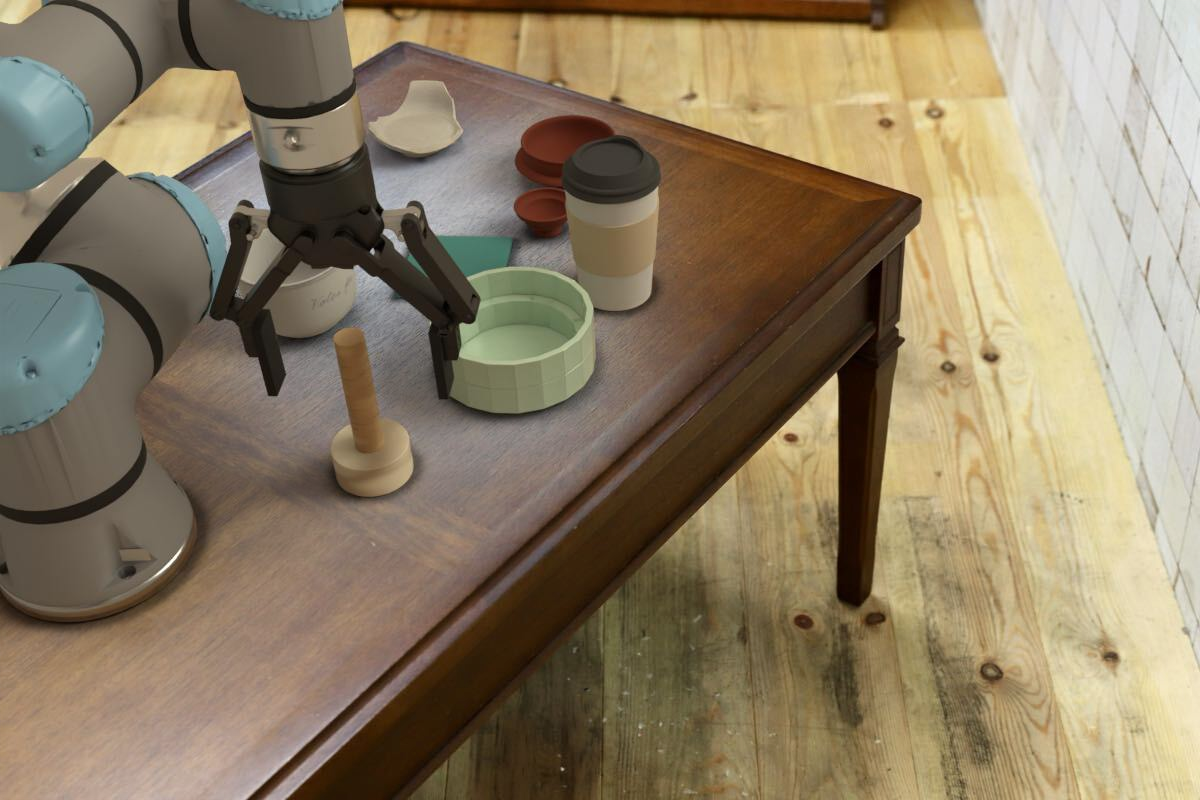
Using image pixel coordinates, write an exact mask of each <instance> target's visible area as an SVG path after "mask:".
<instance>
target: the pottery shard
mask: <svg viewBox="0 0 1200 800" xmlns="http://www.w3.org/2000/svg"><path fill="white" fill-rule="evenodd" d="M456 115H457V114H456V107H455V101H454V98H453V97H452V96H451V95H450V93H449V91H448V89H447V87H446V84H445V83H444V81H440V80H431V79H429V80H428V79H427V80H425V79H421V80H420V79H419V80H417V79H416V80H411V81H410V82H409V87H408V89H407V93H406V95H405V97H404V100H403V102H402V103H401V105H400V107H399V108H398V109H397V110H396V111H395V112H393V113H391V114H389V115H386V116H385V115H384V116H377V118H376V121H368V122H367V126H368V129H367V131H368V132H369V133H370V134H371V136H372V137H373V138H374V139H375V140H376V141H377V142H378V143H379V144H381V145H382V146H384V147H386V148H388V149H389V150H392V151H396V152H399V153H400V154H402V155H404V156H405V157H409V158H425V157H428V156H431V155H433V154H436V153H438V152H439V151H441V150H442V149H445V148H447V147H449V146H451V145H455V143H456V142H457V140H458V139H459V138H460V136H461V135H462V134H463V133H464V128H462V127H461V125H460V123H459V121H458V120H457V117H456Z"/></svg>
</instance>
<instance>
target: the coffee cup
mask: <svg viewBox="0 0 1200 800" xmlns="http://www.w3.org/2000/svg"><path fill="white" fill-rule="evenodd" d="M661 181H662V173H661V165H660V162H659V160H658V159H657V158H656V157H655V155H653V154H651V153H650V152H649V151H647V150H646V149H645V148H644V147H643V146H641V144H640V143H639V142H638V141H637V140H636V139H635V138H633V137H631V136H627V135H623V134H622V135H621V134H616V135H613V136H610V137H608V138H606V139H601V140H595V141H592V142H589V143H586V144H584V145H582V146H580V147H579V148H578V149H577V150H576V151H575V152H574V153H573V154H572V155H571V156H569V157H568V158H567V159H566V161H565V162H564V164H563V167H562V176H561V183H562V186H563V188H562V189H563V190H565V194H566V201H565V206H566V212H567V219H568V220H567V225H568V231H569V236H570V237H569V238H570V239H569V240H570V245H571V251H572V258H573V261H574V263H575V267H576V274H577V283H578V284H579V285H580V286H581V287H582V288H583V289H584V290H585V291H586V292H587V293H588V295H589V297H590V300H591V303H592V305H593V308H595V309H597V310H602V311H607V312H622V311H628V310H632V309H635V308H637V307H639V306H641V305H643V304H644V303H645V302H646V301H647V300H648V299H650V296H651V294H652V287H653V272H654V261H655V260H656V259H655V258H656V253H657V238H658V225H659V224H658V223H659V210H660V197H659V185H660V183H661Z"/></svg>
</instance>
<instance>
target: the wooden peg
mask: <svg viewBox="0 0 1200 800" xmlns="http://www.w3.org/2000/svg"><path fill="white" fill-rule="evenodd" d="M365 335H366V334H365V332H364V331H363V330H362V329H361V328H358V327H344V328H341V329H340V330H338V331H337V332H336V333H334V335H333V337H332V341H333V346H334V351H335V356H336V361H337V366H338V371H339V374H340V380H341V384H342V390H343V393H344V399H345V405H346V409H347V413H348V418H349V424H347V425H346V426H343V428H342V429H340V430H339V431H338V432H337V433H336V434H335V436H334V437H333V438H332V440H331V444H330V455H331V459H332V464H333V469H334V474H335V478H336V480H337V483H338V485H339V486H340V487H341V488H342V489H343V490H344V491H345V492H347V493H349V494H351V495H354V496H358V497H365V498H372V497H380V496H384V495H388V494H391V493H394V492H395V491H397V490H398V489H400V488H401V487H402V486H404V485H405V484H406V483H407V482H408V481H409V480H410V478H411V477H412V474H413V472H414V464H415V463H414V458H413V453H412V448H411V441H410V436H409V433H408V431H407V429H406V428H405V427H404V426H403V425H401V423H399V422H397V421H394V420H393V419H388V418H383V417H382V418H381V415H380V409H379V403H378V399H377V394H376V389H375V384H374V377H373V373H372V367H371V362H370V357H369V352H368V345H367V340H366V336H365Z"/></svg>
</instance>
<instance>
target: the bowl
mask: <svg viewBox="0 0 1200 800" xmlns="http://www.w3.org/2000/svg"><path fill="white" fill-rule="evenodd" d="M466 278H467V279H468V281H469V282H470V284H471V285H472V286H473V288H474V289H475V290H476V292H477V293H478V295H479V296H480V298H481V301H480V305H479V309H478V313H477V317H476V320H475V322H474V323H472V324H465V323H461V324H459V327H460V334H461V341H462V346H461V350H460V353H459V357H458V359H457V361H453V360H452V366H453V373H454V381H453V384H452V388H451V392H450V396H449V397H451V398H452V399H455V400H456V401H457V402H459V403H461V404H463V405H465V406H466V407H469V408H473V409H476V410H480V411H484V412H489V413H492V414H522V413H524V414H525V413H528V412H533V411H539V410H544V409H547V408H549V407H552V406H554V405H556V404H559V403H561V402H564V401H567V400H568V399H569V398H571V397H572V396H573V395H575V394H576V393H578V391H580V390H581V389H582V388H584V387H585V385H586V383H587V382H588V380H589V379H590V378H591V376H592V375H593V373H594V371H595V365H596V358H597V351H596V333H595V332H596V330H595V329H596V328H595V309H594V308H595V307H593V305H592V303H591V300H590V297H589V295H588V293H587V292H586V291H585V290H584V289H583V288H582V287H581V286H580V285H579V282H578V281H576V280H574V279H572V278H571V277H569V276H566V275H565V274H562V273H560V272H558V271H555V270H551V269H546V268H540V267H536V266H507V267H504V268H498V269H492V270H486V271H483V272H480V273H477V274H475V275H472V276H469V277H466ZM428 323H429V326H430V325H431V321H430V320H428Z"/></svg>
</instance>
